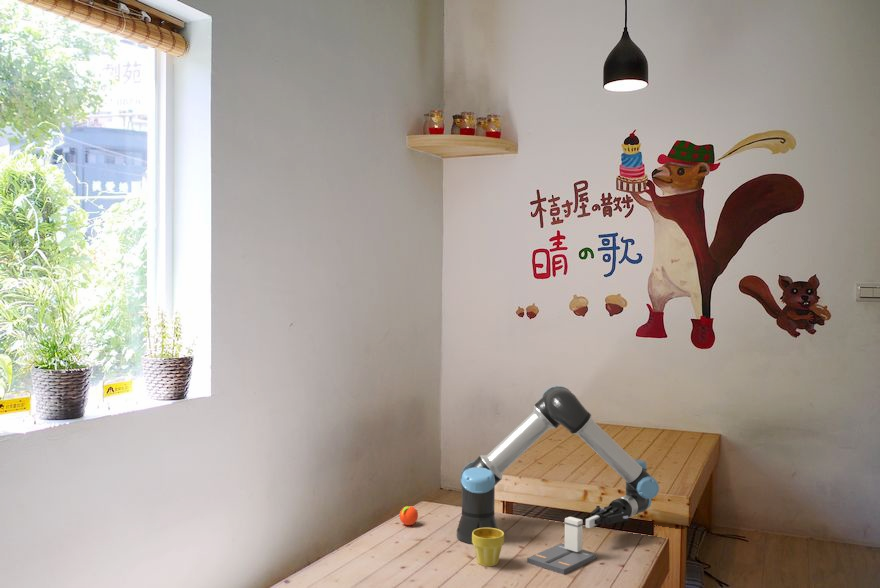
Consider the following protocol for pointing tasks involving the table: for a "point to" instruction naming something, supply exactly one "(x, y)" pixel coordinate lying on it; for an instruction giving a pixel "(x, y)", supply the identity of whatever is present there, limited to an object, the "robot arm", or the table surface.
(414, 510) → the clementine
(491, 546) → the plant pot
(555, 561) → the fader board
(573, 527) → the cap
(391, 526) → the table surface
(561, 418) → the robot arm
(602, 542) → the table surface
